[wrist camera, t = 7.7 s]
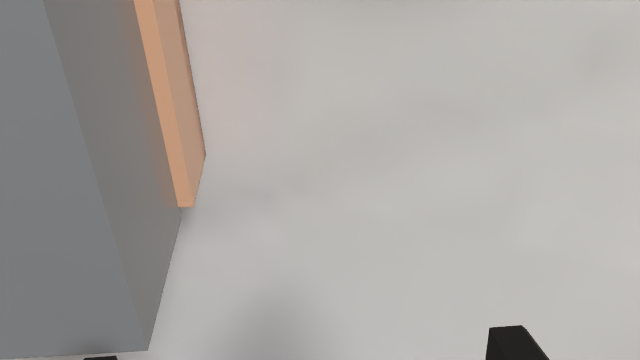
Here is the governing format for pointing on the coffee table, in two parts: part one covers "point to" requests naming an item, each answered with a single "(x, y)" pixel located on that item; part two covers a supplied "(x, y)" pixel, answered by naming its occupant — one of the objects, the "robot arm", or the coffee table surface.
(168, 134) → the peach slab
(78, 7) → the gray rectangular block
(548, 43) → the coffee table surface
